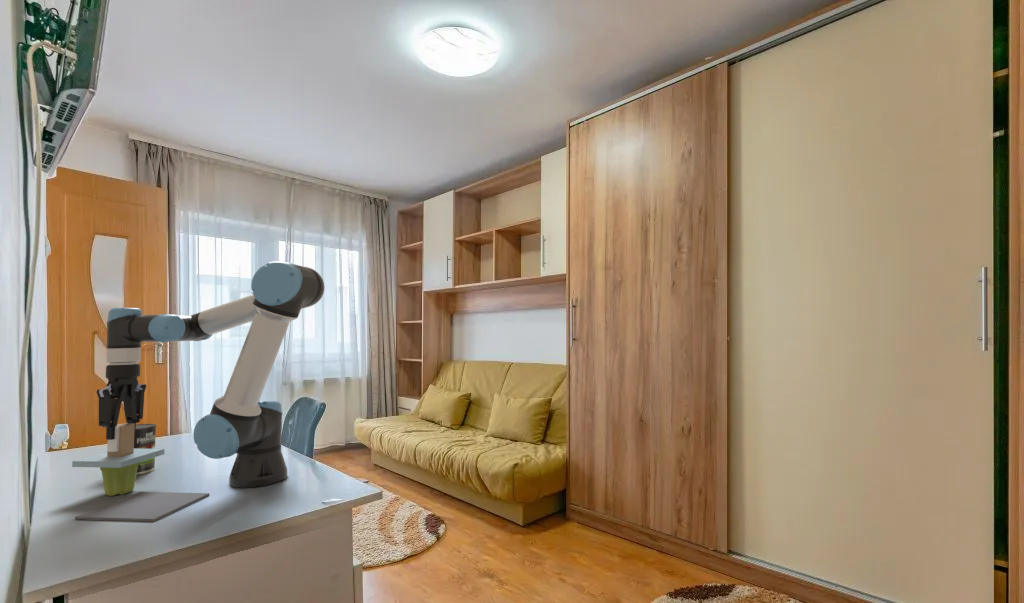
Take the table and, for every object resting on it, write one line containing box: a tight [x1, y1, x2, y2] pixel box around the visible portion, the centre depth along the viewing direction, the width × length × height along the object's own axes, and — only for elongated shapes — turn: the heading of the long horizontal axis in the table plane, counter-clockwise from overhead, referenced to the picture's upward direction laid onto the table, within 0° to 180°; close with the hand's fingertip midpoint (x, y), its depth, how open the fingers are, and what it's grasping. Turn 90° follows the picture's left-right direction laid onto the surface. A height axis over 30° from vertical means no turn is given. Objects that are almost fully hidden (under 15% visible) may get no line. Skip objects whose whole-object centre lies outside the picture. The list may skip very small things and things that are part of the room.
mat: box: [74, 491, 210, 523], centre depth 124 cm, size 20×18×1 cm
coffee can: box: [134, 423, 157, 476], centre depth 156 cm, size 10×10×14 cm
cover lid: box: [71, 423, 165, 468], centre depth 136 cm, size 14×14×10 cm
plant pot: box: [99, 462, 139, 497], centre depth 136 cm, size 9×9×9 cm
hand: (120, 449), depth 136 cm, fingers closed on cover lid, 4 cm apart
